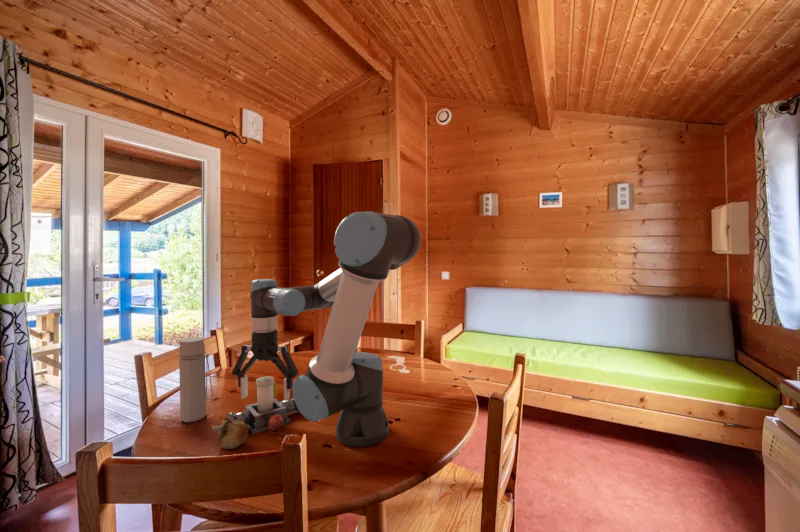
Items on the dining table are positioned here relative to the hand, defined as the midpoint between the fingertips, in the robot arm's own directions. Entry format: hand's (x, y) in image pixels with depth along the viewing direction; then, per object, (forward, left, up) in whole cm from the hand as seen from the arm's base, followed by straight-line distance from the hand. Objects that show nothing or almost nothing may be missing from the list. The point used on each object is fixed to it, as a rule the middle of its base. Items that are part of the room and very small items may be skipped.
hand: (265, 398), depth 112 cm
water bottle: (+16, +16, -7) cm, 24 cm away
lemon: (+14, -6, -7) cm, 17 cm away
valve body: (-2, 0, -7) cm, 7 cm away
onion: (-9, +12, -8) cm, 17 cm away
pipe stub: (0, 0, -6) cm, 6 cm away
